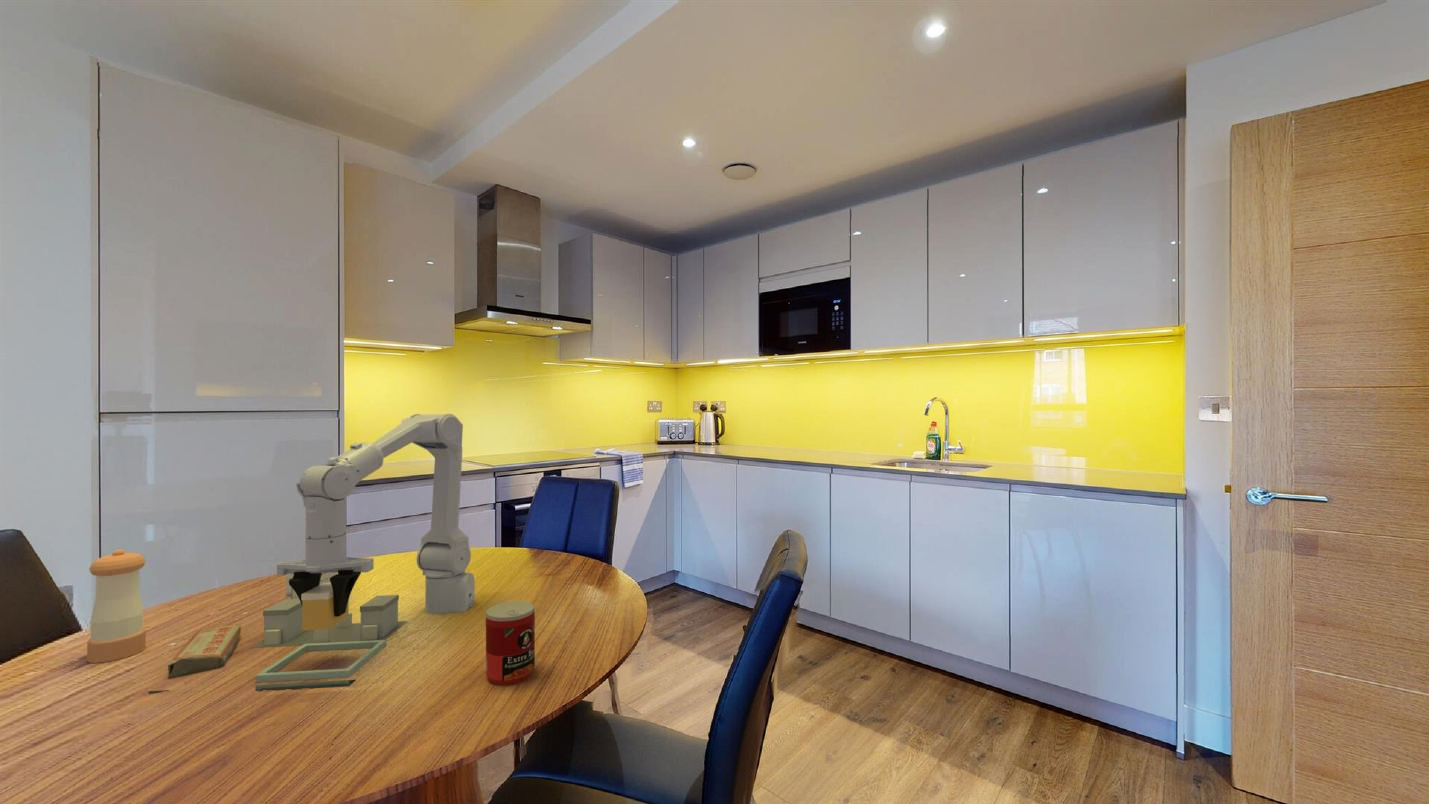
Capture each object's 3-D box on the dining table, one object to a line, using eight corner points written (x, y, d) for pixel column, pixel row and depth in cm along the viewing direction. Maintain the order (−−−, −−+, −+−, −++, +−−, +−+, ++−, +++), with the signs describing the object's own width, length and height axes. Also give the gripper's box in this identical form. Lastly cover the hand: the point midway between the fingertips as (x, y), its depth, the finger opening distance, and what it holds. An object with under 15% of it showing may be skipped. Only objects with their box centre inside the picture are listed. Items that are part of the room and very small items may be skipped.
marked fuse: (349, 615, 96) (349, 581, 97) (328, 629, 90) (328, 593, 90) (324, 616, 96) (324, 582, 96) (301, 630, 90) (301, 594, 90)
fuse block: (407, 628, 111) (407, 608, 111) (383, 649, 101) (383, 627, 102) (287, 634, 109) (287, 613, 109) (249, 656, 99) (250, 634, 99)
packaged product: (183, 629, 101) (252, 618, 106) (183, 655, 101) (252, 643, 106) (146, 667, 85) (229, 652, 91) (146, 698, 85) (229, 681, 90)
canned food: (506, 690, 86) (506, 620, 86) (475, 678, 90) (475, 611, 90) (545, 671, 92) (544, 605, 93) (514, 660, 97) (514, 597, 97)
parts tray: (386, 653, 100) (386, 639, 100) (349, 686, 88) (349, 670, 88) (304, 657, 98) (304, 643, 98) (255, 691, 86) (255, 675, 86)
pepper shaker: (132, 643, 105) (133, 544, 106) (154, 648, 103) (155, 546, 103) (77, 659, 98) (79, 553, 99) (100, 665, 96) (102, 556, 96)
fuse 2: (398, 624, 109) (398, 594, 110) (383, 637, 103) (383, 605, 103) (376, 625, 109) (376, 595, 109) (359, 638, 103) (359, 606, 103)
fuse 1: (308, 628, 108) (308, 598, 108) (287, 642, 102) (287, 609, 102) (285, 630, 107) (285, 599, 107) (262, 643, 101) (263, 610, 101)
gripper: (263, 542, 89) (263, 626, 88) (358, 539, 90) (357, 621, 90) (292, 532, 96) (292, 610, 95) (379, 530, 97) (379, 606, 97)
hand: (325, 615), depth 93 cm, fingers closed on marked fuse, 4 cm apart
